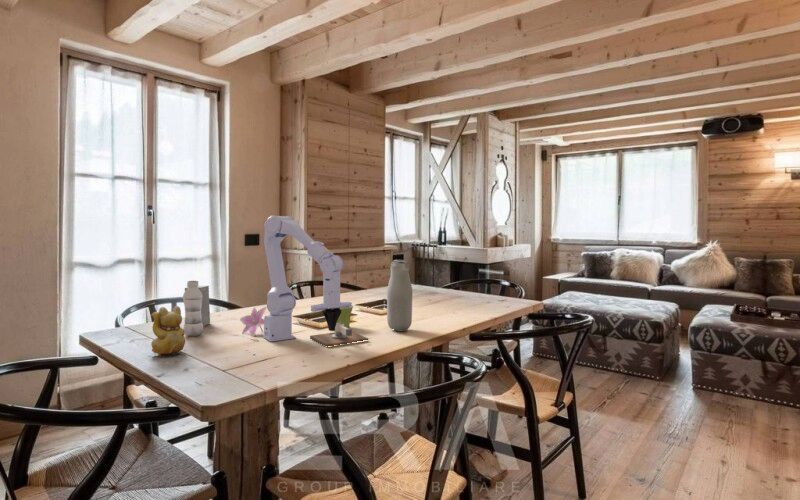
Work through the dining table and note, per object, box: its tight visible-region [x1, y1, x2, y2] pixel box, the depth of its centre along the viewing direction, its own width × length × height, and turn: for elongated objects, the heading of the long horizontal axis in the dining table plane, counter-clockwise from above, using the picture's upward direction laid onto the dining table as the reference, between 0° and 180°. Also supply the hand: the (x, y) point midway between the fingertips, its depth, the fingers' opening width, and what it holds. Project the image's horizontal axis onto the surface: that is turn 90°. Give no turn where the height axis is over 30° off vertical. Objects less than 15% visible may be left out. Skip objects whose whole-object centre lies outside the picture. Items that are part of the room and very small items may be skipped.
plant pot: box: [337, 305, 354, 328], centre depth 185 cm, size 9×9×9 cm
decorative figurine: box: [150, 305, 186, 358], centre depth 145 cm, size 10×8×15 cm
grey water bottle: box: [386, 259, 413, 331], centre depth 182 cm, size 10×10×28 cm
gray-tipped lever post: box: [333, 323, 353, 336], centre depth 163 cm, size 4×10×3 cm, turn 35°
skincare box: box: [184, 285, 211, 328], centre depth 185 cm, size 8×7×16 cm
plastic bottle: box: [182, 280, 204, 337], centre depth 168 cm, size 6×7×20 cm
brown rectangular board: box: [309, 331, 369, 347], centre depth 166 cm, size 16×14×3 cm
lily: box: [239, 306, 267, 338], centre depth 175 cm, size 12×12×10 cm
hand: (331, 330), depth 160 cm, fingers closed
